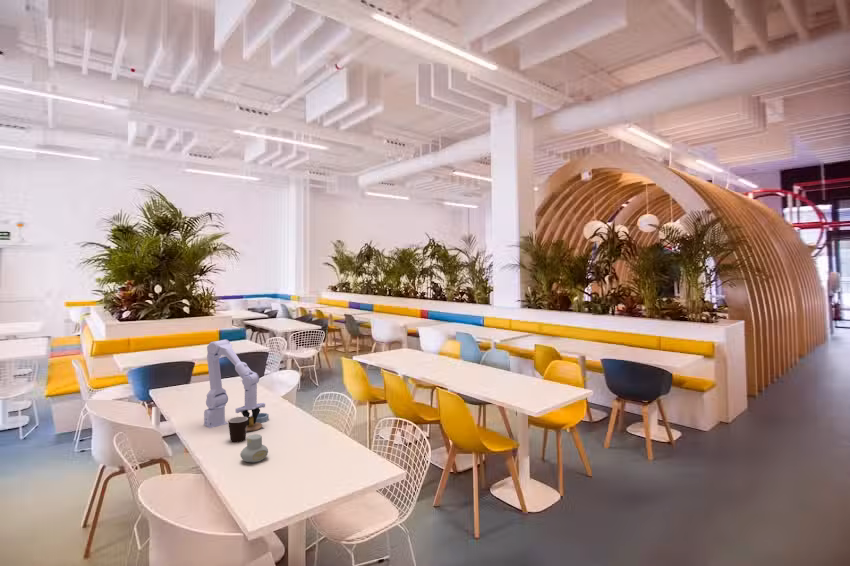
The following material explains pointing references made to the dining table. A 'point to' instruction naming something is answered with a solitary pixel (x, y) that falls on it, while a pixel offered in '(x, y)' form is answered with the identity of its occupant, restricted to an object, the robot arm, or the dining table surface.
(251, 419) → the lid
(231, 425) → the coffee mug
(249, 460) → the air freshener
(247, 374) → the robot arm
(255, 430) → the mat
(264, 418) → the bowl
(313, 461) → the dining table surface
